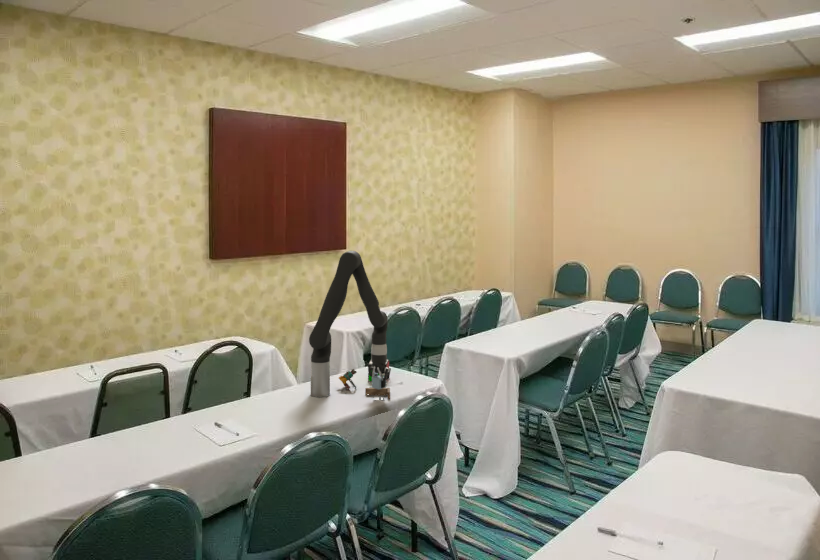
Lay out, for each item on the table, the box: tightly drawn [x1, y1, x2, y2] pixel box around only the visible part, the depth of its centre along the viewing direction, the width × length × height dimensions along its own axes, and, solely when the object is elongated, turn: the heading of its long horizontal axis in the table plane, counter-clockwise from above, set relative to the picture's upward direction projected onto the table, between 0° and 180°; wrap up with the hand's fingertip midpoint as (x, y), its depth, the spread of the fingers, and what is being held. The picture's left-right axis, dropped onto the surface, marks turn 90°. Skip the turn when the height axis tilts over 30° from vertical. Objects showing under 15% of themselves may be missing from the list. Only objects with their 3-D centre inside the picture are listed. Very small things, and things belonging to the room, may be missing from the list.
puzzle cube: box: [367, 359, 390, 382], centre depth 347 cm, size 10×10×10 cm
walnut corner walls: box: [364, 387, 391, 400], centre depth 317 cm, size 12×7×4 cm, turn 93°
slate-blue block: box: [371, 376, 387, 389], centre depth 313 cm, size 5×5×5 cm
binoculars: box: [338, 368, 358, 391], centre depth 330 cm, size 9×9×10 cm
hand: (379, 386), depth 313 cm, fingers closed on slate-blue block, 5 cm apart
